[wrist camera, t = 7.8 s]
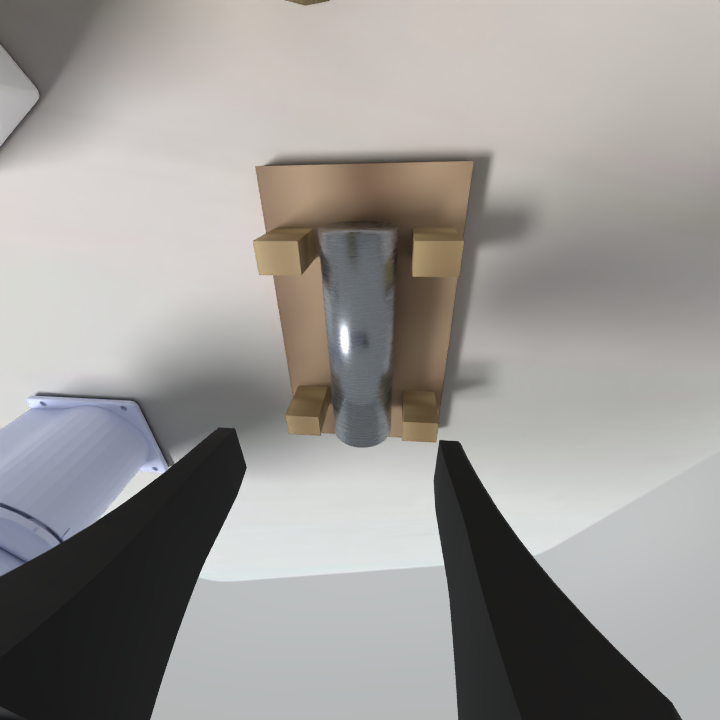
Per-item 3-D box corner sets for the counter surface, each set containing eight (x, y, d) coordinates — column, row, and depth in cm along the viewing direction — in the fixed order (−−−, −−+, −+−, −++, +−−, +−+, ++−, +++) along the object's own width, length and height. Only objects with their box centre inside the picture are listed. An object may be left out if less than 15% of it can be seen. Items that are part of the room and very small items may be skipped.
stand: (302, 422, 25) (287, 463, 22) (262, 165, 16) (227, 168, 13) (434, 429, 24) (439, 474, 21) (469, 160, 15) (489, 162, 12)
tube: (339, 407, 23) (330, 445, 20) (325, 221, 16) (309, 236, 13) (391, 409, 22) (390, 449, 19) (397, 220, 16) (398, 236, 13)
